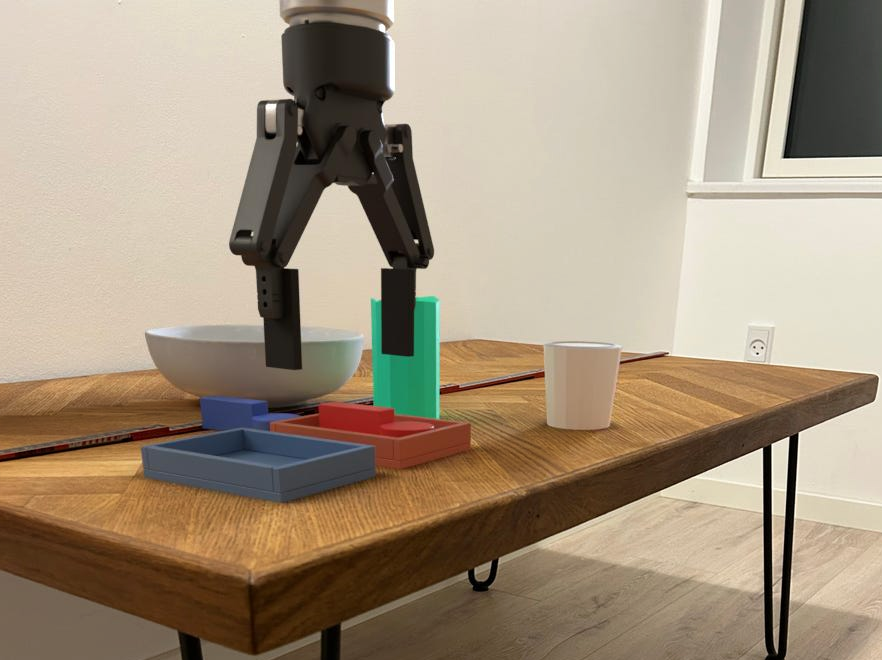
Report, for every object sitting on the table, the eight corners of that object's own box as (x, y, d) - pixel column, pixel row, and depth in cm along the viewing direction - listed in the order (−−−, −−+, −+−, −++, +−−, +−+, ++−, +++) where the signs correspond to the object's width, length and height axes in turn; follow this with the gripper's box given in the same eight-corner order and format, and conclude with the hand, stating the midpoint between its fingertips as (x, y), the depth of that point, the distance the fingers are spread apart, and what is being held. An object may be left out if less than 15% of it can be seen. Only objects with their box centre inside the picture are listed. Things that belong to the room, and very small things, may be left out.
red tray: (271, 450, 72) (269, 422, 71) (348, 433, 79) (347, 408, 78) (400, 469, 66) (400, 439, 65) (470, 449, 73) (471, 422, 72)
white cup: (599, 434, 81) (604, 348, 78) (527, 426, 84) (530, 344, 81) (627, 423, 86) (633, 343, 84) (559, 416, 89) (563, 339, 87)
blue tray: (143, 477, 62) (140, 445, 62) (244, 455, 70) (242, 427, 69) (281, 503, 56) (279, 468, 56) (376, 476, 64) (375, 445, 63)
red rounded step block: (310, 439, 73) (308, 405, 72) (343, 432, 76) (342, 399, 75) (413, 454, 68) (413, 417, 67) (444, 446, 71) (444, 411, 70)
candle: (416, 412, 90) (415, 278, 86) (452, 421, 86) (453, 280, 81) (361, 417, 87) (357, 278, 82) (396, 427, 82) (393, 280, 78)
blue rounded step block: (192, 430, 79) (189, 398, 78) (227, 424, 83) (225, 393, 82) (279, 443, 75) (277, 409, 74) (312, 435, 78) (311, 403, 77)
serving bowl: (266, 426, 82) (260, 343, 79) (106, 405, 92) (97, 330, 89) (406, 399, 98) (405, 330, 96) (258, 384, 108) (254, 321, 106)
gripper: (245, -22, 51) (265, 380, 60) (482, 59, 71) (474, 354, 79) (151, -8, 55) (182, 369, 63) (402, 66, 75) (401, 347, 83)
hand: (345, 361), depth 71 cm, fingers open, 13 cm apart
